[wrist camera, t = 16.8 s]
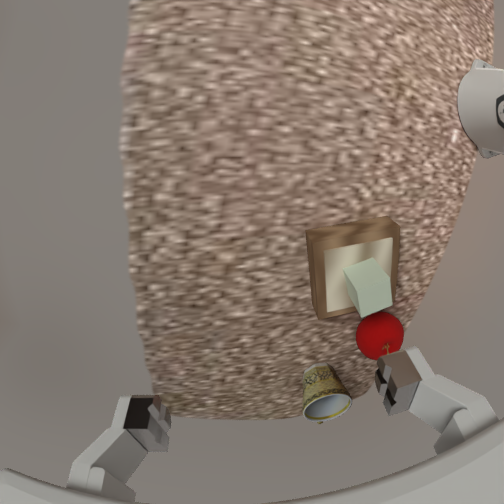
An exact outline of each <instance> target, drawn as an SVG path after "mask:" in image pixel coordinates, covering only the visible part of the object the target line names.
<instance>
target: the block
mask: <svg viewBox="0 0 504 504" xmlns="http://www.w3.org/2000/svg"><path fill="white" fill-rule="evenodd" d="M343 272H344V276H345V281H346V285H347V290H348V295H349V296H350V298H351V300H352V302H353V303H354V305H355V307H356V309H357V311H358V313H359V314H360V316H361V318H362V317H365V316H367V315H370V314H372V313H375V312H377V311H380V310H382V309H384V308H387V307H389V306H392V295H391V284H390V277H389V276H388V275H387V274H386V273H385V271H384V270H383V269H382V268H381V266H380V265H379V264H378V263H377V262H376V260H375V259H374V258H373V257H372V258H370V259H367V260H365V261H362V262H359V263H357V264H354V265H351V266H349V267H346V268H343Z"/></svg>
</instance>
